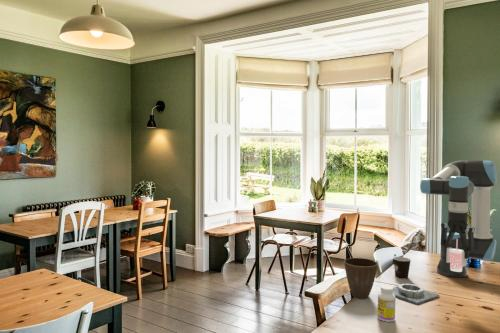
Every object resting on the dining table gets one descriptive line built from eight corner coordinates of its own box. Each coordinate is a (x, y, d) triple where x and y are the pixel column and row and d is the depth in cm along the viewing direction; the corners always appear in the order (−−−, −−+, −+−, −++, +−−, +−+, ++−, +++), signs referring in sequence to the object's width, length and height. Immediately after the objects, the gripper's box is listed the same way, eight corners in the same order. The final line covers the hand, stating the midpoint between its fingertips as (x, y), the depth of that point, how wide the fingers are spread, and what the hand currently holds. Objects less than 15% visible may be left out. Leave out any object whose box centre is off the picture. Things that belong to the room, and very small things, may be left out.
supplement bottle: (374, 315, 159) (375, 284, 158) (390, 315, 159) (391, 284, 159) (381, 322, 152) (382, 290, 152) (397, 322, 153) (398, 290, 152)
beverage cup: (458, 268, 174) (459, 237, 173) (467, 272, 168) (468, 240, 167) (445, 268, 173) (446, 237, 173) (453, 272, 167) (454, 240, 167)
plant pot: (359, 304, 171) (360, 268, 171) (336, 293, 185) (337, 259, 184) (383, 298, 178) (384, 264, 178) (360, 288, 191) (361, 256, 191)
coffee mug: (411, 280, 206) (412, 261, 206) (394, 278, 208) (395, 260, 208) (407, 273, 218) (407, 256, 218) (391, 272, 220) (391, 255, 219)
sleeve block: (404, 286, 197) (405, 279, 197) (439, 297, 182) (439, 289, 182) (382, 292, 186) (382, 285, 186) (417, 304, 172) (417, 297, 171)
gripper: (432, 209, 175) (431, 260, 176) (476, 215, 160) (474, 270, 160) (441, 208, 180) (439, 257, 180) (485, 213, 164) (483, 268, 165)
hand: (456, 263), depth 170 cm, fingers closed on beverage cup, 6 cm apart
